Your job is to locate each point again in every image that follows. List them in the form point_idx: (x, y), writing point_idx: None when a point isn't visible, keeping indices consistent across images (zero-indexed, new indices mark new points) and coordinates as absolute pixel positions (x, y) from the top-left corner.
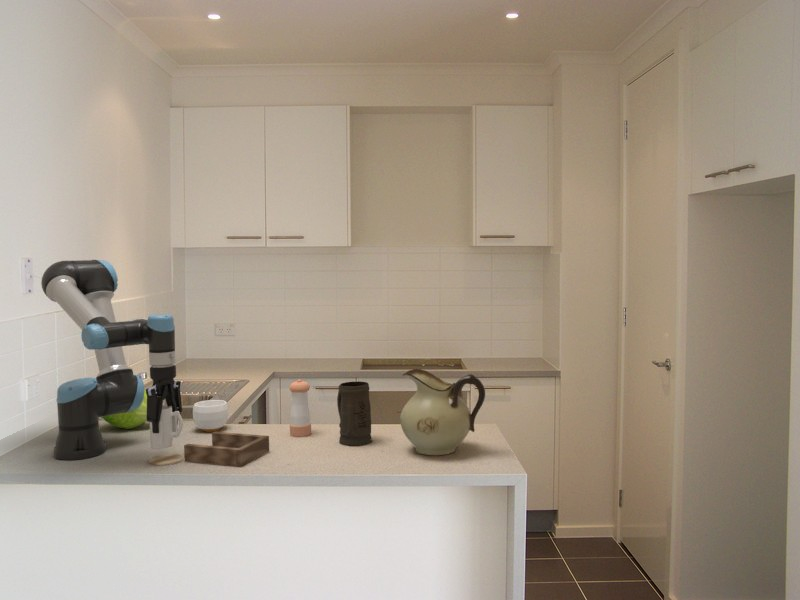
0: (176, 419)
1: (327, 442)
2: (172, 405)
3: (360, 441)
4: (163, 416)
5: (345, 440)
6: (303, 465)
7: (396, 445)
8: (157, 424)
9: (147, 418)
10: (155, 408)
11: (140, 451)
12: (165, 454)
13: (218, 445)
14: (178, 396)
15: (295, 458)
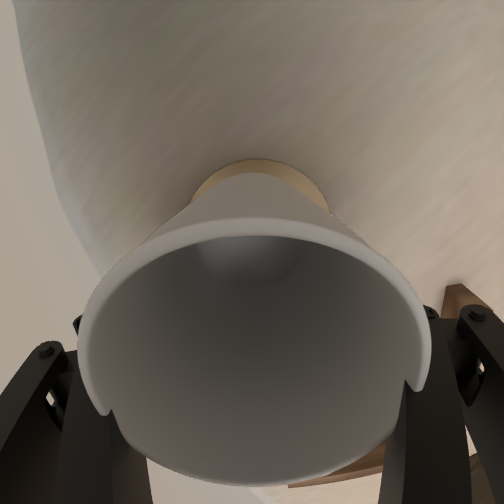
0: None
1: (469, 448)
2: (387, 453)
3: None
4: (191, 415)
5: None
6: (328, 498)
7: None
8: None
9: (32, 365)
10: (51, 482)
11: (325, 22)
12: (309, 184)
13: (447, 316)
14: (494, 497)
15: (369, 477)
